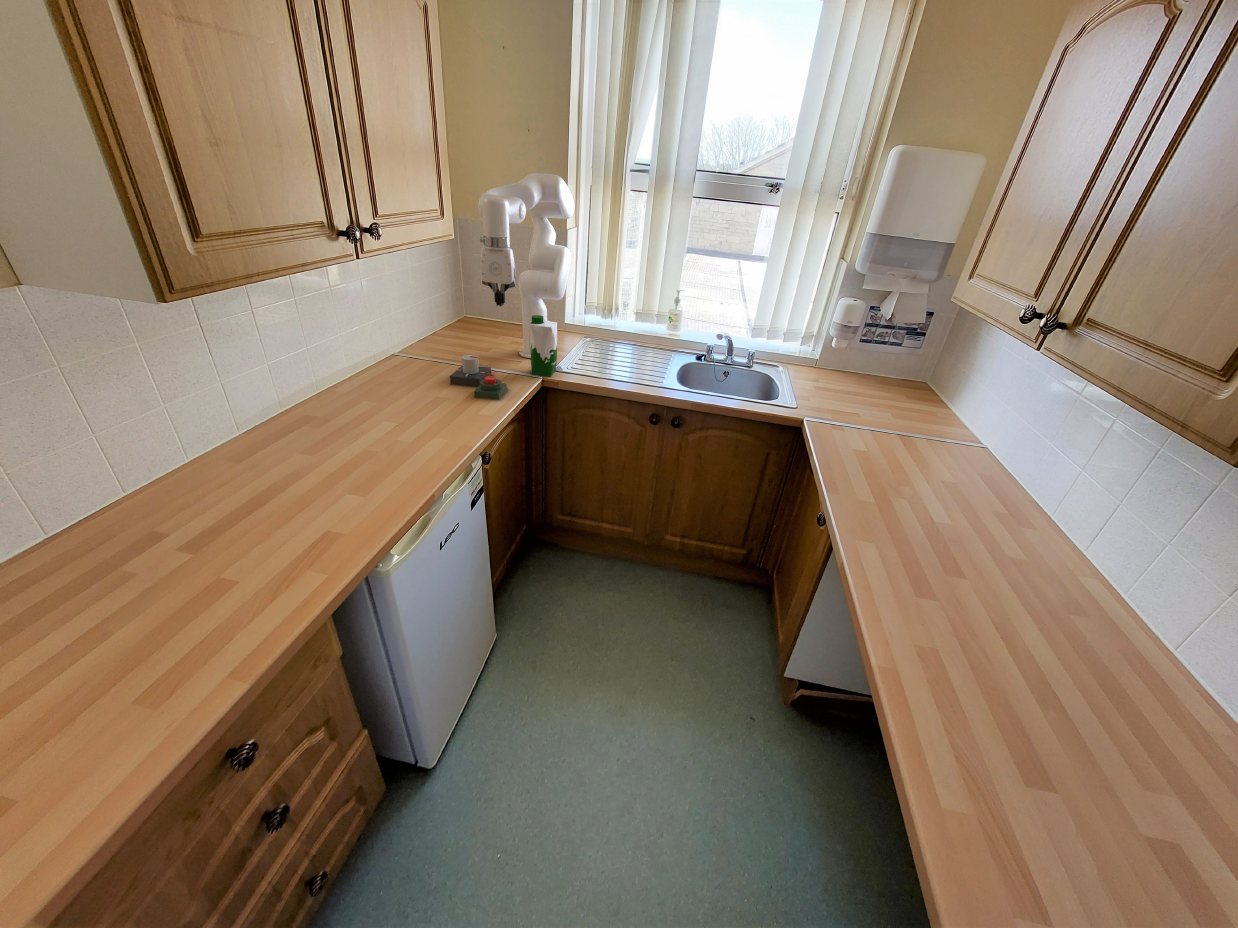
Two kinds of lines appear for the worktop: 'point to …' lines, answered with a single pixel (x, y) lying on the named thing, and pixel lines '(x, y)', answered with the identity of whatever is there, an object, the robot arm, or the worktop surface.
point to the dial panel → (469, 377)
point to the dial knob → (470, 364)
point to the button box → (490, 390)
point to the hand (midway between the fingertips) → (500, 305)
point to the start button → (490, 380)
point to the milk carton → (543, 346)
